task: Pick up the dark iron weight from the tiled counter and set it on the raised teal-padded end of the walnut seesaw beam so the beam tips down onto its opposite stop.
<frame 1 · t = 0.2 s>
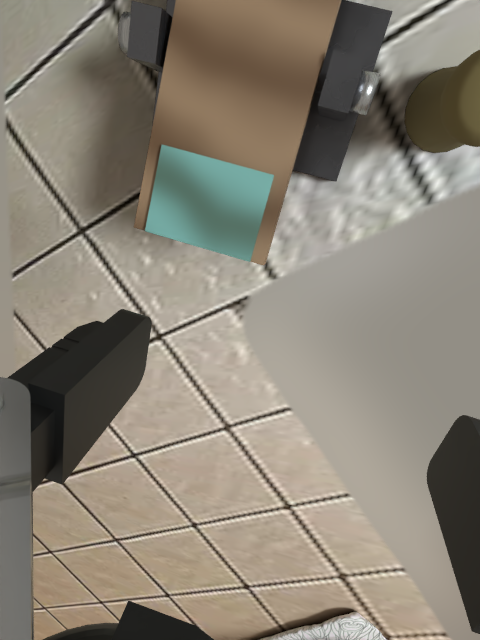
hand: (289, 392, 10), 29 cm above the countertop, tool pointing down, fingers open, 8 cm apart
beam: (244, 58, 25), point 8 cm above the countertop, hinge at -10.0°
olive brown waisted cylinder: (444, 111, 31), on the countertop
seesaw stand: (261, 80, 32), on the countertop
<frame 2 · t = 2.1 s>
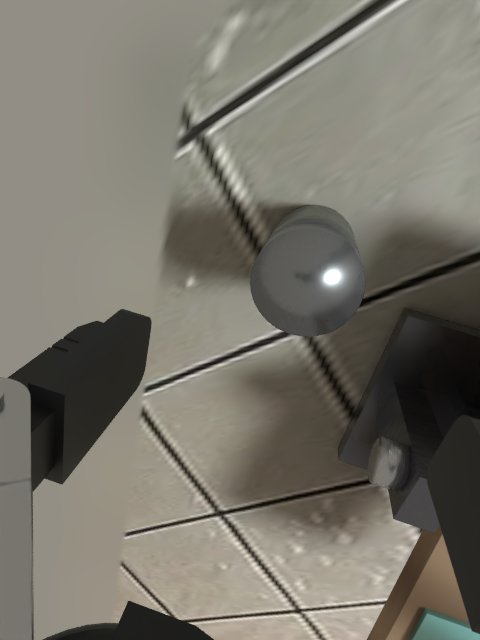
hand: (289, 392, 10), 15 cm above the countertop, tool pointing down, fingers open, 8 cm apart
iron weight: (311, 247, 23), on the countertop
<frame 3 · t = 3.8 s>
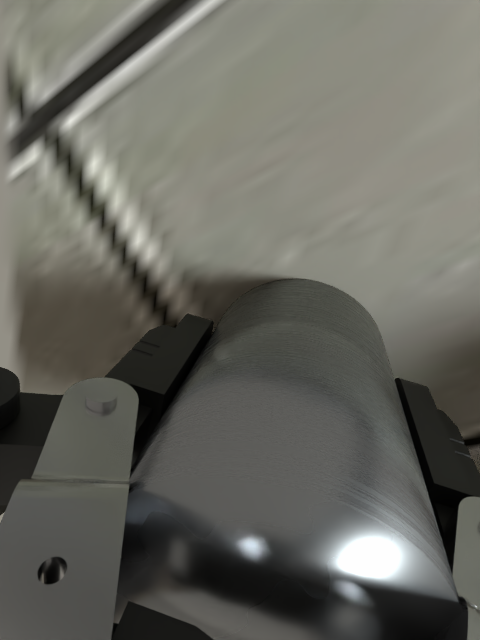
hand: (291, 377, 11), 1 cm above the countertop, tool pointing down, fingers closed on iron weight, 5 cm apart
iron weight: (295, 359, 11), on the countertop, touching gripper
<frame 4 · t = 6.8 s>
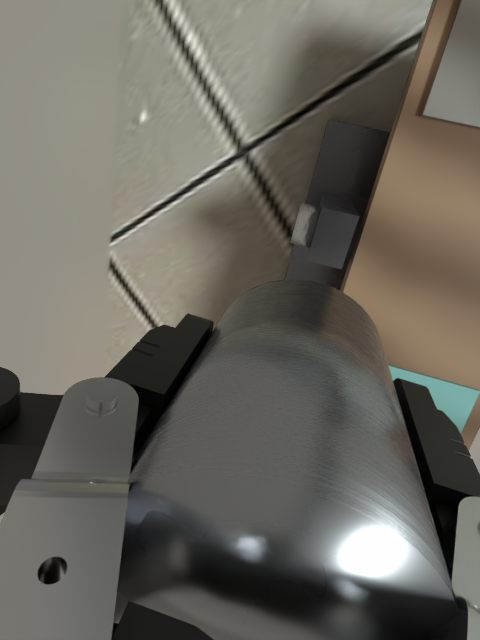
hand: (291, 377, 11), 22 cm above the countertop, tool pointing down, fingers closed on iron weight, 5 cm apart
iron weight: (294, 359, 11), point 21 cm above the countertop, touching gripper
beam: (447, 261, 21), point 8 cm above the countertop, hinge at -10.0°
seesaw stand: (416, 234, 28), on the countertop
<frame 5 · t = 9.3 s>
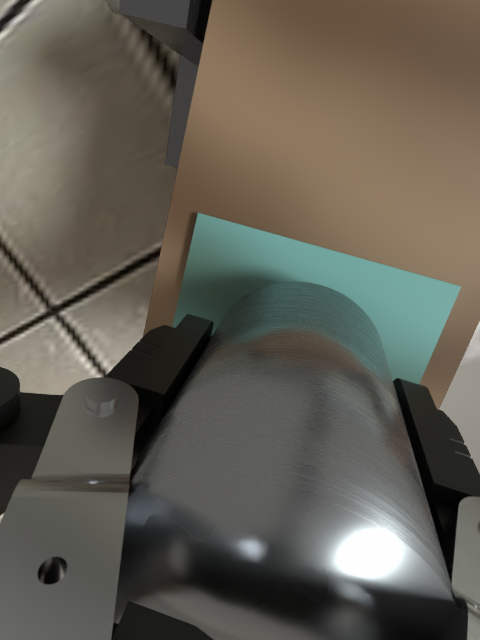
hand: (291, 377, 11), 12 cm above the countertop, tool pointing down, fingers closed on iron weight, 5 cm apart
iron weight: (294, 361, 11), point 11 cm above the countertop, touching gripper
beam: (399, 13, 10), point 8 cm above the countertop, hinge at -10.0°
seesaw stand: (367, 73, 18), on the countertop
when the fingers open (12 cm above the countertop, at t = 10.0 s): iron weight drops 4 cm, resting on beam.
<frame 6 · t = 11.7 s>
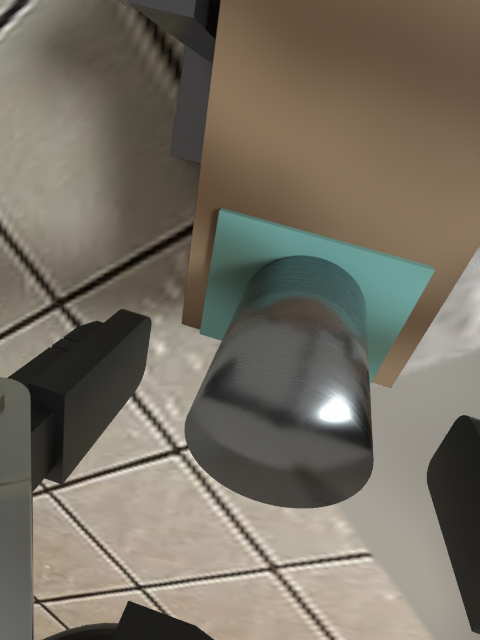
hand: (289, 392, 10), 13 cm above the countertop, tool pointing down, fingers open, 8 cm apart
iron weight: (302, 311, 16), point 7 cm above the countertop, tilted 11°, touching beam
beam: (400, 15, 11), point 8 cm above the countertop, hinge at 10.5°, touching iron weight
seesaw stand: (371, 63, 18), on the countertop
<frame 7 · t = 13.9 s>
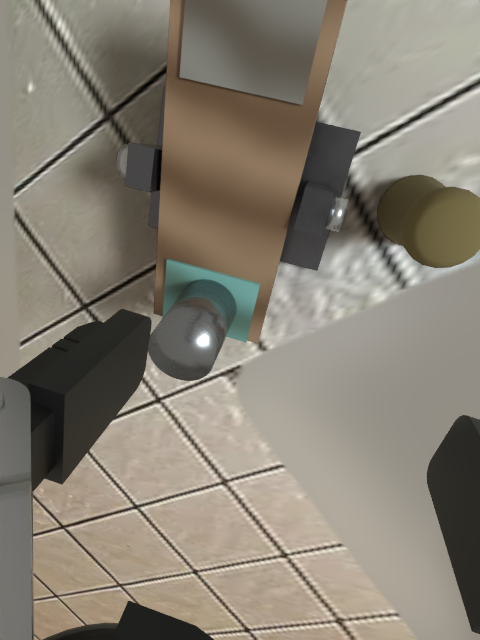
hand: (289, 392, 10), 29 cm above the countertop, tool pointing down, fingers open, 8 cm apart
iron weight: (208, 305, 33), point 7 cm above the countertop, tilted 10°, touching beam
beam: (227, 190, 28), point 8 cm above the countertop, hinge at 10.5°, touching iron weight
olive brown waisted cylinder: (412, 211, 34), on the countertop
seesaw stand: (246, 182, 35), on the countertop
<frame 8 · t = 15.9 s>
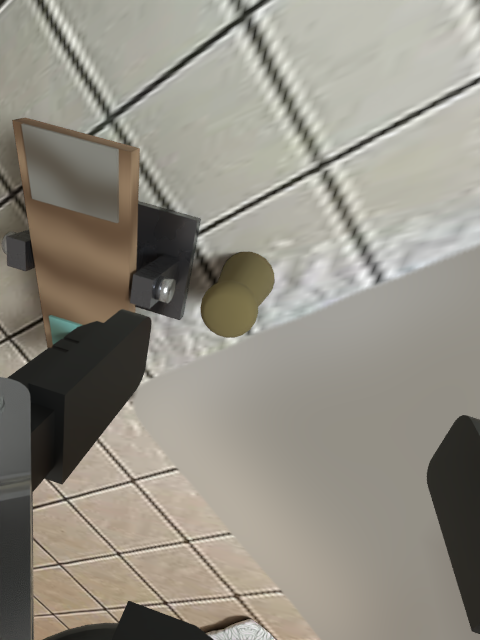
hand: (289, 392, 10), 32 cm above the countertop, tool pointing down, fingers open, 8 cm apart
beam: (84, 270, 38), point 8 cm above the countertop, hinge at 10.5°, touching iron weight
olive brown waisted cylinder: (248, 277, 43), on the countertop
seesaw stand: (122, 250, 45), on the countertop
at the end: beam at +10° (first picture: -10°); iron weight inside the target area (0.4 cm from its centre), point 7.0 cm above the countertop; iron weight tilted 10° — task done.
